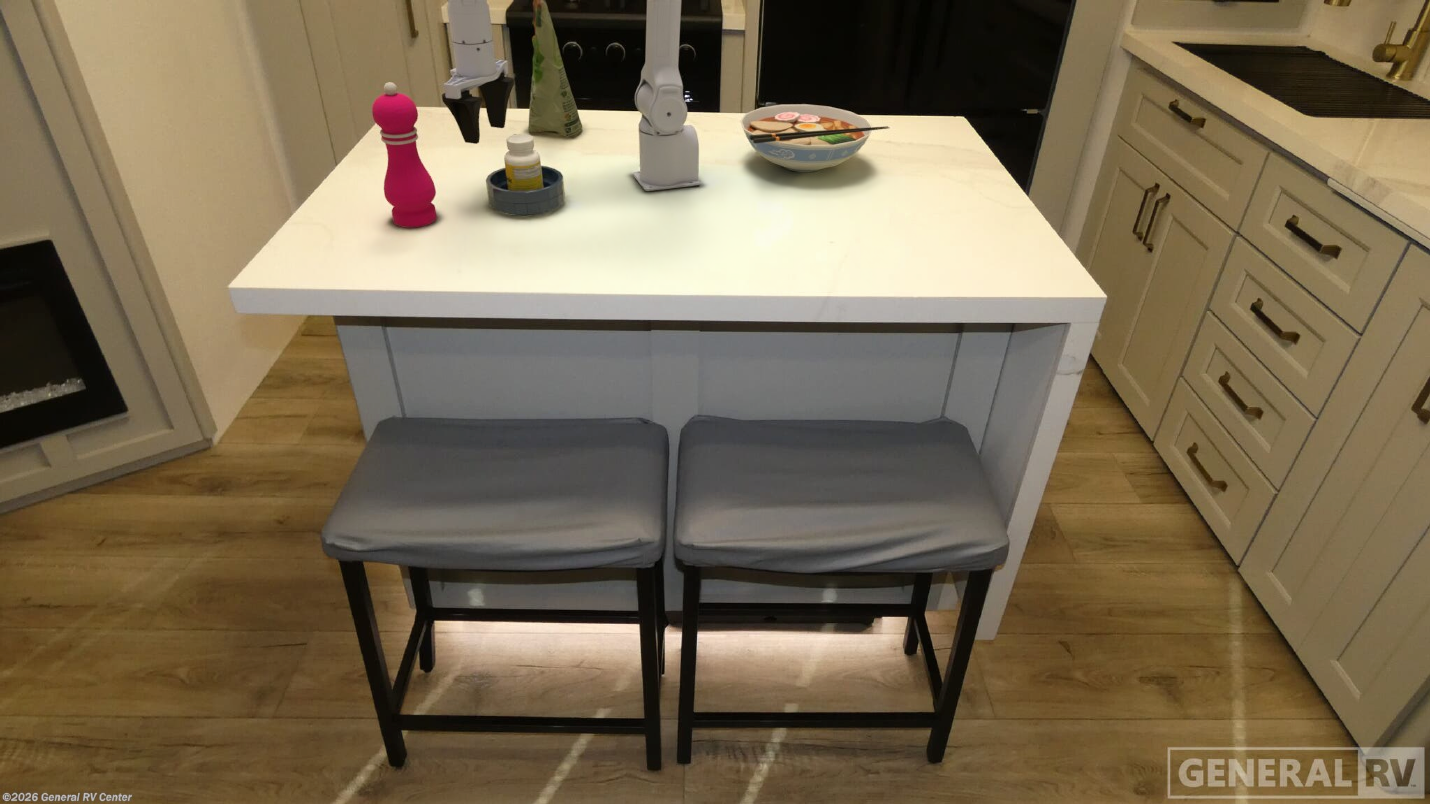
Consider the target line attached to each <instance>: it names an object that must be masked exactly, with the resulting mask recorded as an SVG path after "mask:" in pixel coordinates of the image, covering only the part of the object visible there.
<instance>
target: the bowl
mask: <svg viewBox="0 0 1430 804" xmlns="http://www.w3.org/2000/svg"><path fill="white" fill-rule="evenodd" d="M541 170H542V179H543V188H542V189H537V190H530V191H511V190H508V184H507V177H506V169H505V167H502V168H499V169H497V170H494V171H492V172H490V173H489V174H488V175H487V177H486V178H485V186H486V194H487V200H488V204H489V206H490V208H491V209H493V210H495V211H496V212H500V213H503V214H507V215H511V216H519V217H527V216H528V217H529V216H537V215H543V214H545V213H548V212H550V211H553V210H555V209H557V208H559V207H560V206H561V205H563V204H564V202H565V199H566V196H565V195H566V193H565V184H564V183H565V182H564V175H563V174H562V172H561V171H560V170H558V169H556V168H553V167H550V166H546V165H541Z"/></svg>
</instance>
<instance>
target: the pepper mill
mask: <svg viewBox="0 0 1430 804" xmlns="http://www.w3.org/2000/svg"><path fill="white" fill-rule="evenodd" d="M383 91H384V94H381V95H379V96H378V97H377V98H375V100H374V101H373V104H372V108H371V114H372V118H373V119H372V120H374V123H375V124H376V125H377V126H378V127H379V128H380V131H379V134H380V135H381V138H380V140H381V141H382V143H384V144H385V148H386V152H387V154H386V155H387V166H386V172H385V176H384V181H383V195H384V198H385V200H386V201H387V203H388V204H389V205H391V206H392V209H391V215H392V221H393V223H394V224H395V225H397V226H399V227H403V228H420V227H425V226H428V225H430V224H432V223H434V222H435V221H436V220H437V218H438V215H437V209H436V205H435V204H434V203H432V202H433V201H434V199H435V198H436V195H437V190H436V186H435V182H434V180H433V177H432V176H431V174H430V173H429V171H428V170H427V168H426V167H425V165H424V163H423V161H422V160H421V157H420V154H419V151H418V147H417V141H418V139H419V134H418V128H417V127H416V126H415V124H416V123H417V121H418V118H419V113H418V112H419V111H418V108H417V106H416V104H415V102H414V101H413V99H411V98H410V97H409V96H407V95H406V94H404V93H399V92H398V86H397V85H396V84H395V83H394V82H391V81H388V82H386V83H384V85H383Z"/></svg>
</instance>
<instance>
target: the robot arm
mask: <svg viewBox="0 0 1430 804" xmlns="http://www.w3.org/2000/svg"><path fill="white" fill-rule="evenodd" d="M489 5H490V4H489V3H488V0H447V4H446V10H447V17H448V23H449V25H448V26H449V31H450V38H451V43H452V50H453V58H454V65H455V67H454V68H451V69H450V71H449V72H450V76H451V77H450V78H449V80H448V81H447V82H444V83H443V90H444V92H443V93H442V94H441V99H442V102H443V104H444V105H445V106H446V107H447V109H448V110H449V112H450V113H451V114H452V116H453V118H454V120H455V122H456V123H457V127H458V129H459V131H460V134H461V136H462V139H463V141H464V143H467V144H468V143H469V144H474V145H478V144H479V143H480V137H481V134H480V132H481V131H480V113H481V106H482V104H483V103H482V102H483V101H484V106H485V110H486V115H487V119H488V123H489V125H490V127H491V128H497V129H505V126H506V120H507V110H508V104H509V99H510V96H511V92H512V91H513V88H514V85H515V79H514V77H511V76H507V75H509V74H510V73H509V64H508V60H504V59H496V52H495V45H494V37H493V36H494V35H493V28H492V20H491V11H490V6H489ZM681 13H682V0H646V23H645V24H646V26H645V58H644V59H645V62H644V64H643V66H642V69H641V71H640V81H639V84H638V86H637V88H636V91H635V93H634V104H635V107H636V108H637V111H638V112H639V113H640V114H641V118H640V121H639V123H638V145H639V146H638V149H639V152H638V153H639V171H633V172H632V176H633V177H634V178H635V180H636V181H637V182H638V183H639V185H640V186H641V187H642V189H643V190H644V191H646V192H651V191H652V192H653V191H661V190H668V189H669V190H670V189H677V188H687V187H695V186H700V185H701V182H700V180H699V171H700V170H699V169H700V167H699V166H700V165H699V163H700V161H699V160H700V145H699V144H700V143H699V137H698V133H697V130H696V128H695V127H694V126H693V125H692V124H685V123H686V121H687V118H688V106H687V103H686V101H685V98H684V85H683V80H682V77H681V73H680V70H679V57H680V37H681V36H680V35H681V16H682V15H681ZM476 88H478V89H479V91H480V94H481V96H473V93H471V92H470V91H472V90H474V89H476Z"/></svg>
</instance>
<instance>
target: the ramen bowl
mask: <svg viewBox="0 0 1430 804" xmlns="http://www.w3.org/2000/svg"><path fill="white" fill-rule="evenodd" d="M739 123H740V125H741V127H742V130H743V132H744V134H745V137H746V138H747V140H748V142H749V144H750V145H751V147H752V149H754V151H755V152H756V153H757V154H758V155H759V156H761V157H762V158H764V159H765V160H767V161H769V162H771V163H772V164H775V165H777V166H780V167H784V168H785V169H787V170H788V171H792V172H798V173H814V172H818V171H820V170H822V169H827V168H832V167H836V166H838V165H839V164H842V163H844V162H845V161H847V160H849V159H852V158H853V157H854V156H855V155H856V154H858V152H859V151H860V150H861V148H862V147H863V146H864V145H865V144H866V142H867V140H869V138H870V135H871V134H872V131H879V130H888V129H890V127H889V126H888V125H887V126H876V127H875V126H873V125H872V124H871V122H870V121H869V120H868V119H867V118H866V117H864V116H861V115H860V114H857V113H855V112H852V111H849V110H846V109H841V108H836V107H834V106H833V107H832V106H827V105H817V104H806V103H801V104H799V103H798V104H797V103H796V104H793V103H791V104H776V105H770V106H763V107H759V108H757V109H754V110H751V111H749V112H746V113H745V114H744V115H743V116H742V117H741V118H740V120H739Z"/></svg>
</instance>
